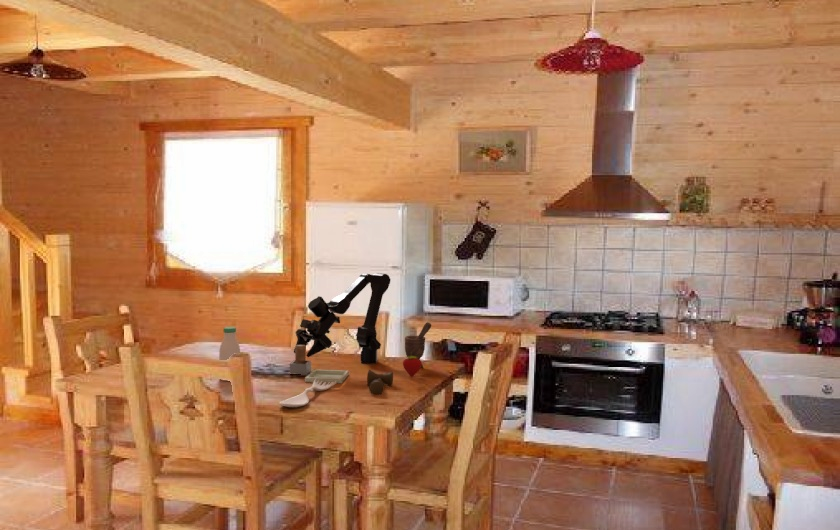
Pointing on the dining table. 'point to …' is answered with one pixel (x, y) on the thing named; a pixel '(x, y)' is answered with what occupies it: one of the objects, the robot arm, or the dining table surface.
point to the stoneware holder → (300, 368)
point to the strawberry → (412, 365)
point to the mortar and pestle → (416, 343)
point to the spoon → (302, 398)
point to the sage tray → (327, 376)
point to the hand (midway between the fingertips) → (300, 354)
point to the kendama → (378, 381)
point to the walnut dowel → (300, 354)
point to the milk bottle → (228, 344)
